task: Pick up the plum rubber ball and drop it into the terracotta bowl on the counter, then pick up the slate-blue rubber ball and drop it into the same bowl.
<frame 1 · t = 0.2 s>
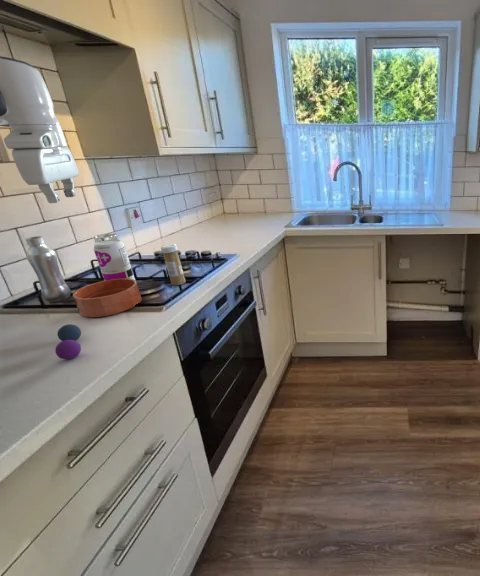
hand: (63, 199, 89), 32 cm above the countertop, tool pointing down, fingers open, 8 cm apart
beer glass: (118, 276, 132), on the countertop
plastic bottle: (59, 300, 113), on the countertop
slate ball: (72, 340, 90), on the countertop
supplement can: (122, 285, 123), on the countertop
plum ball: (71, 357, 83), on the countertop
sprinkles bottle: (178, 283, 123), on the countertop
bowl: (112, 306, 107), on the countertop
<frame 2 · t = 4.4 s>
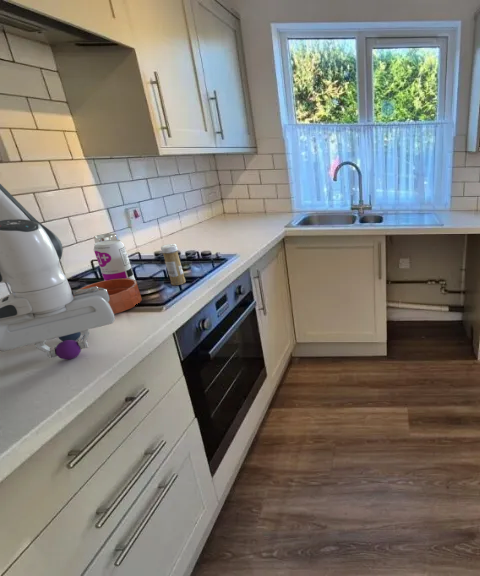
hand: (69, 351, 82), 2 cm above the countertop, tool pointing down, fingers closed on plum ball, 4 cm apart
plum ball: (72, 357, 83), on the countertop, touching gripper
everything else where it was.
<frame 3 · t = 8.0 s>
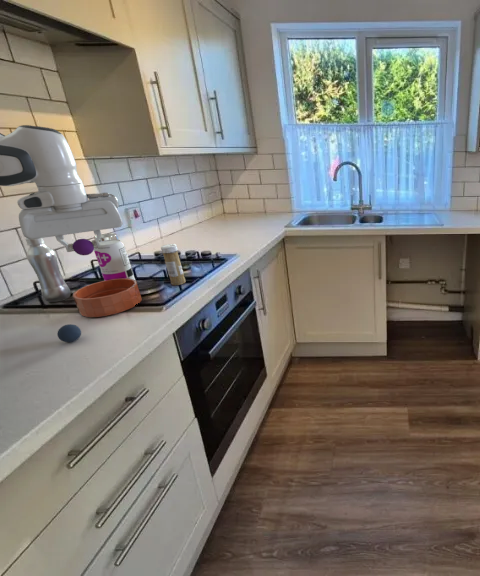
hand: (84, 249, 96), 19 cm above the countertop, tool pointing down, fingers closed on plum ball, 4 cm apart
plum ball: (86, 254, 97), point 18 cm above the countertop, touching gripper
everything else where it was.
when the fingers open (5 cm above the countertop, at t = 11.9 s): plum ball drops 2 cm, resting on bowl.
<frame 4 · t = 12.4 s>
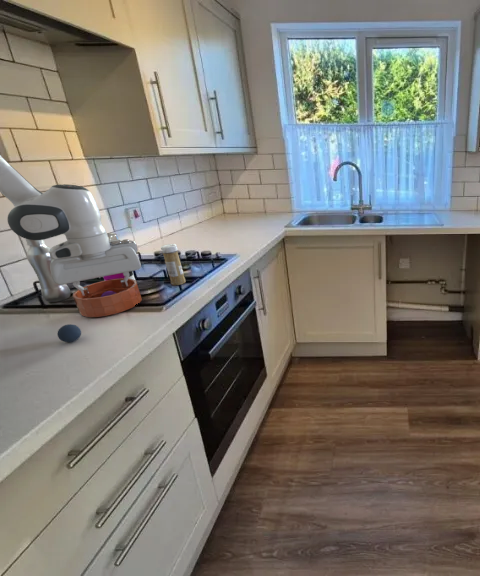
hand: (106, 290, 105), 5 cm above the countertop, tool pointing down, fingers open, 8 cm apart
plum ball: (111, 305, 107), point 1 cm above the countertop, touching bowl
everything else where it was.
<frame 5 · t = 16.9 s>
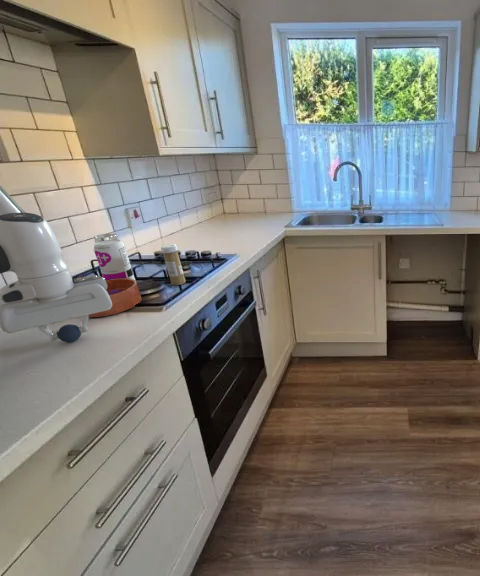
hand: (70, 335, 89), 2 cm above the countertop, tool pointing down, fingers closed on slate ball, 4 cm apart
slate ball: (72, 340, 90), on the countertop, touching gripper
plum ball: (111, 303, 107), point 1 cm above the countertop, tilted 42°, touching bowl
everything else where it was.
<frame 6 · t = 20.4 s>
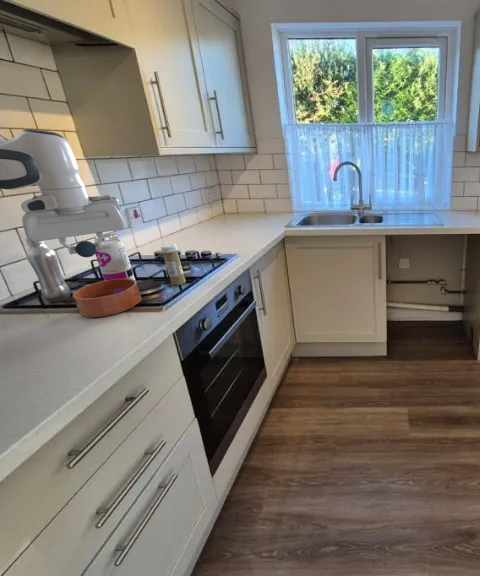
hand: (86, 251, 97), 18 cm above the countertop, tool pointing down, fingers closed on slate ball, 4 cm apart
slate ball: (88, 256, 98), point 17 cm above the countertop, touching gripper
plum ball: (112, 299, 107), point 2 cm above the countertop, tilted 72°, touching bowl
everything else where it was.
when the fingers open (5 cm above the countertop, at t = 23.8 s): slate ball drops 2 cm, resting on bowl.
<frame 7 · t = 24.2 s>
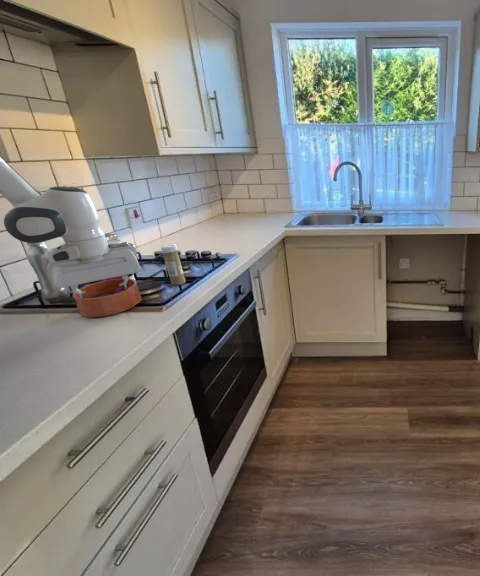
hand: (105, 293, 104), 5 cm above the countertop, tool pointing down, fingers open, 8 cm apart
slate ball: (110, 307, 105), point 1 cm above the countertop, tilted 8°, touching bowl
plum ball: (114, 297, 107), point 3 cm above the countertop, tilted 88°, touching bowl
everything else where it was.
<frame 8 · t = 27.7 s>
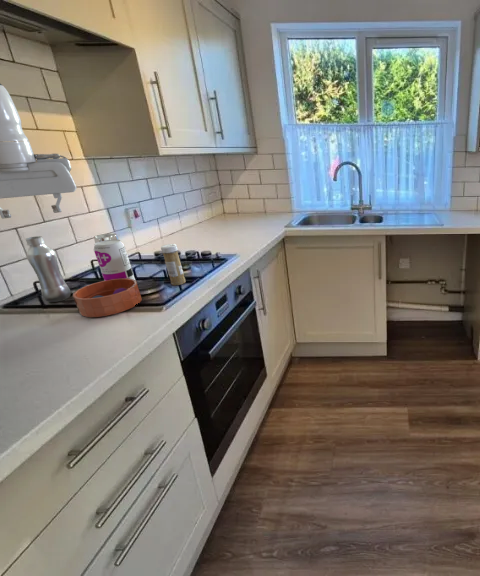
hand: (33, 215, 89), 29 cm above the countertop, tool pointing down, fingers open, 8 cm apart
slate ball: (108, 305, 105), point 1 cm above the countertop, tilted 56°, touching bowl
plum ball: (113, 298, 107), point 2 cm above the countertop, tilted 81°, touching bowl
everything else where it was.
at the end: plum ball inside the target area in the bowl (0.9 cm from its centre), point 2.4 cm above the bowl's base; slate ball inside the target area in the bowl (2.1 cm from its centre), point 1.4 cm above the bowl's base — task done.
